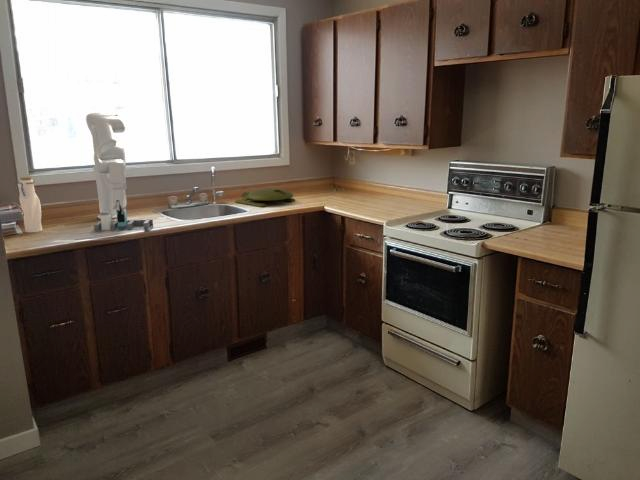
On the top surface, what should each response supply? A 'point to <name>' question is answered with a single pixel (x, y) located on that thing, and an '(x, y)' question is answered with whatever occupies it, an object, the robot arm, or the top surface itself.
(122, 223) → the teal plug
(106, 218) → the white plug
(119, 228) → the comb rack
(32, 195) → the water bottle
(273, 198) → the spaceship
